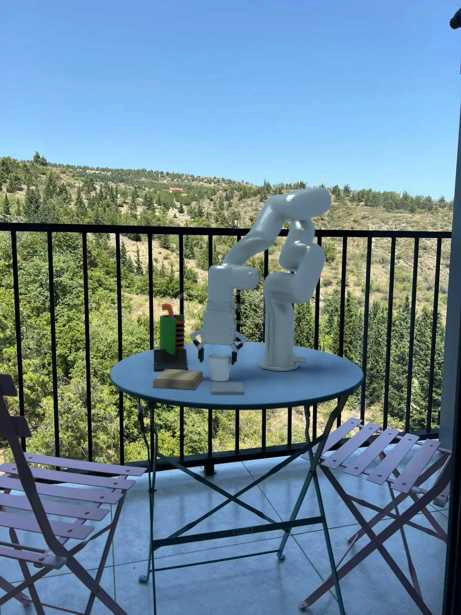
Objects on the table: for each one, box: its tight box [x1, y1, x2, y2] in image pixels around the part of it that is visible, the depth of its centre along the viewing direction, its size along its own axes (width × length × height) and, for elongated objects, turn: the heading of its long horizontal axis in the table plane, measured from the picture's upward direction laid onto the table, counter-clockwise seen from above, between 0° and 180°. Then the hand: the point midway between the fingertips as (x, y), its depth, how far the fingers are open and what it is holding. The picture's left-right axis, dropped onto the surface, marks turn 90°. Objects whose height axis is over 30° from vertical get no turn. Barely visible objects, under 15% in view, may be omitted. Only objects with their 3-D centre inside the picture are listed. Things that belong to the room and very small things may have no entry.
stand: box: [152, 369, 204, 391], centre depth 151 cm, size 12×12×2 cm
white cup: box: [208, 353, 232, 382], centre depth 156 cm, size 7×7×7 cm
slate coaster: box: [210, 381, 245, 395], centre depth 145 cm, size 9×9×1 cm
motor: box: [158, 302, 186, 355], centre depth 176 cm, size 10×9×20 cm
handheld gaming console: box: [153, 348, 189, 373], centre depth 169 cm, size 12×7×10 cm
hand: (217, 363), depth 156 cm, fingers open, 9 cm apart
